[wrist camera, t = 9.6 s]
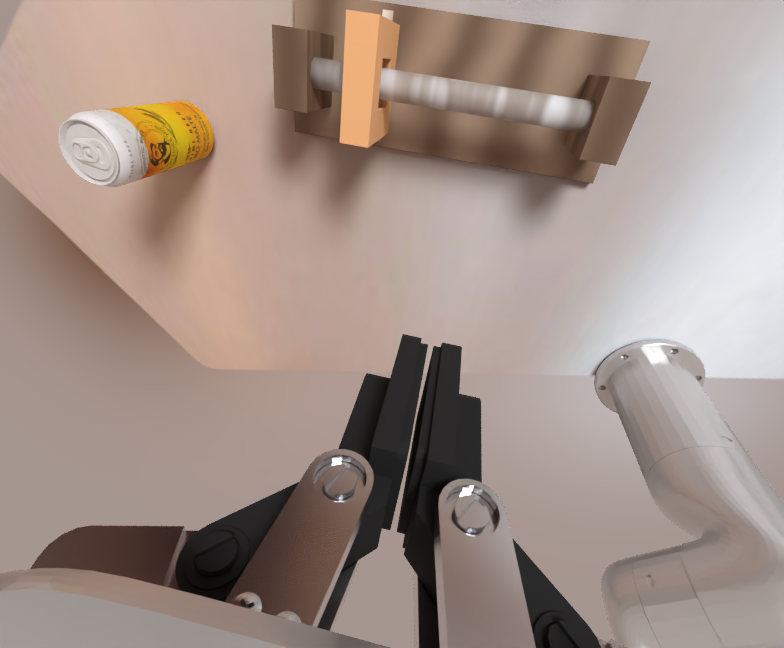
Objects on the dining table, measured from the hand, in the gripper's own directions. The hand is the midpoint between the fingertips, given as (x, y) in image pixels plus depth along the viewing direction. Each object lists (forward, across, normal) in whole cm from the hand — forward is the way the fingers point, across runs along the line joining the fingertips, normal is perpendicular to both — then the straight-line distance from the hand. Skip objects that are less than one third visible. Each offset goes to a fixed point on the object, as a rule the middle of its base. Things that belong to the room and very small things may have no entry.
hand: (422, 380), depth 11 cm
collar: (+36, +9, -5) cm, 37 cm away
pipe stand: (+37, +2, -5) cm, 38 cm away
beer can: (+37, +31, +3) cm, 49 cm away
